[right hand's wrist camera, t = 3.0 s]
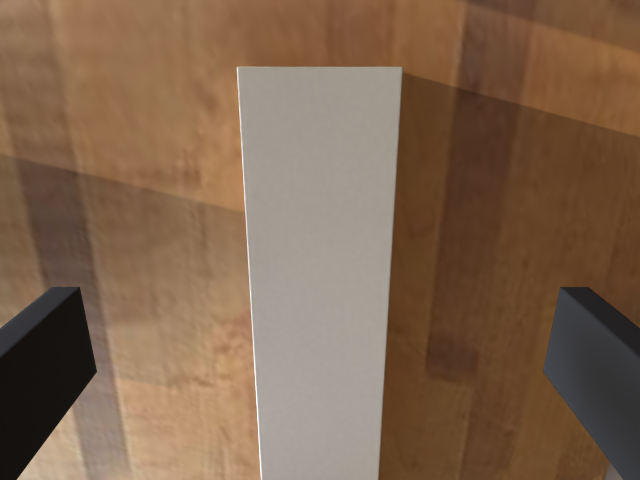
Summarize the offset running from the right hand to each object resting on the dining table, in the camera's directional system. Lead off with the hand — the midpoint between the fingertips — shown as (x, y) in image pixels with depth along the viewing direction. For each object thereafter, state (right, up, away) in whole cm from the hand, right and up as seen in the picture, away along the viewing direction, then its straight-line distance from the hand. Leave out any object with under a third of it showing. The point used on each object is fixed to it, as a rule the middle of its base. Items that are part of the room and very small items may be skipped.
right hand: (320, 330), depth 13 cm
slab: (0, -13, +32) cm, 35 cm away
